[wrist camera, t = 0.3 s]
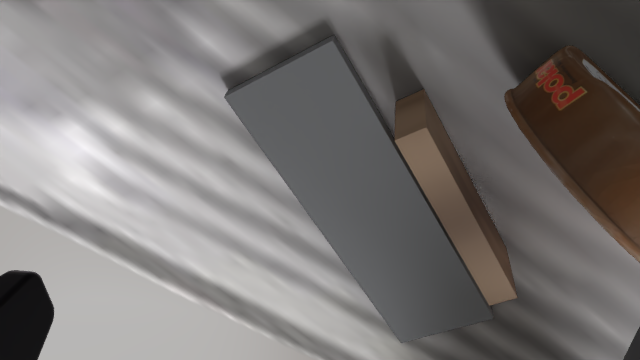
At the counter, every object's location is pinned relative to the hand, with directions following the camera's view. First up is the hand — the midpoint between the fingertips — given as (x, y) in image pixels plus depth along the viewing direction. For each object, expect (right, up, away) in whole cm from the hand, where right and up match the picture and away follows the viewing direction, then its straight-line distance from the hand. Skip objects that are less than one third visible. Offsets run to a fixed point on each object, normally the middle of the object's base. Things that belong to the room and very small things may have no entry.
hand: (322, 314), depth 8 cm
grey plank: (+2, +1, +17) cm, 17 cm away
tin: (+13, +3, +13) cm, 19 cm away
